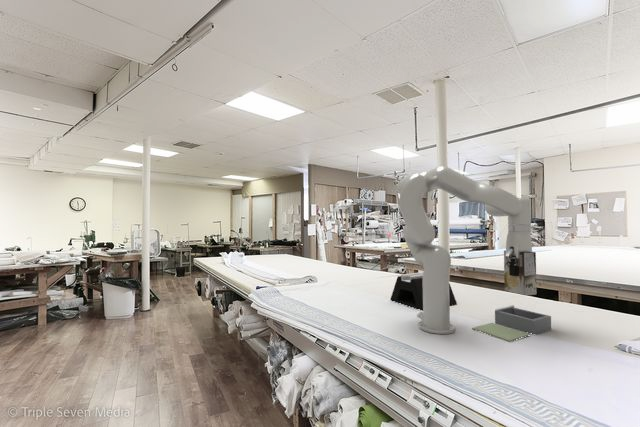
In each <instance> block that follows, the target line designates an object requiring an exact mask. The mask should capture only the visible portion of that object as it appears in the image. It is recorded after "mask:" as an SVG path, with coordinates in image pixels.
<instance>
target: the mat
mask: <svg viewBox="0 0 640 427" xmlns="http://www.w3.org/2000/svg"><path fill="white" fill-rule="evenodd" d="M471 329H474V330H473V331H475V330H477V331H476V332H478V331H481V332H483V333H482V334H484V333H486V334H485V335H487V334H488V336H490V335H491V336H490V337H493V336H494V337H493V338H496V339H499V340H502V341H505V342H508V343H511V341H512V342H514V340H515V341H517V340H516V339H518V340H520V339H519V338H521V337H525V336H528V335H530V336H531V334H529V333H526V332H523V331H519V330H516V329H513V328H509V327H506V326H503V325H499V324H496V323H494V322H490V323H486V324H482V325H478V326H474V327H472V328H471ZM481 332H480V333H481ZM528 337H529V336H528ZM525 338H526V337H525Z"/></svg>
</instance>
